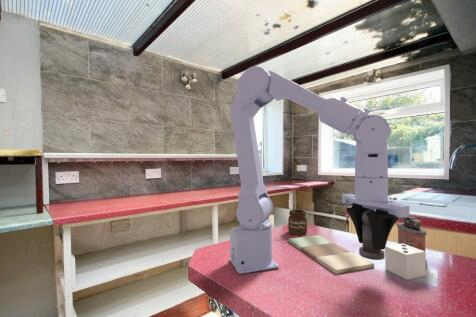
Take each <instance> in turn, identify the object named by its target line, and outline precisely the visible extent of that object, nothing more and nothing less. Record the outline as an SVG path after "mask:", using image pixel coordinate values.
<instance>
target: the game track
mask: <svg viewBox="0 0 476 317" xmlns="http://www.w3.org/2000/svg"><path fill="white" fill-rule="evenodd" d="M287 241H288V243H290V244H291V245H292V246H294V247H295V248H297V249H299V250H300V251H301V252H303V253H304V254H306V255H308V257H310V258H312V259H313V260H315V261H317V262H318V263H319V264H321V265H322V266H324V267H325V268H326V269H328V270H330V271H331V272H332V273H334V274H335V275H337V274H342V273H343V274H344V273H348V272H354V271H359V270H360V271H361V270H364V269H365V270H366V269H371V268H375V263H374V262H372V261H370V260H369V259H367V258H364V257H362V256H361V255H358V254H356V253H354V252H352V251H351V250H348V249H347V248H344V247H342V246H340V245H338V244H336V243H335V242H333V241H331V240H328V239H326V238H325V237H322V236H320V235H319V234H316V235H310V236H309V235H308V236H301V237H291V238H288V239H287Z"/></svg>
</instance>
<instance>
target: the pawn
mask: <svg viewBox="0 0 476 317" xmlns="http://www.w3.org/2000/svg"><path fill="white" fill-rule="evenodd" d="M369 212H376V210H375V211H374V210H367V211H365V212H364V213H363V214H362V221H363V224H362V243H361V244H362V245H361V246H360V247H359V249H358V254H359V256H360V257H362V258H364V259H366V260H374V261H381V260H385V250H384V249H381V250H375V249H374V248H373V242H372V230H371V225H370V222H369V219H368V216H367V213H369Z"/></svg>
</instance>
